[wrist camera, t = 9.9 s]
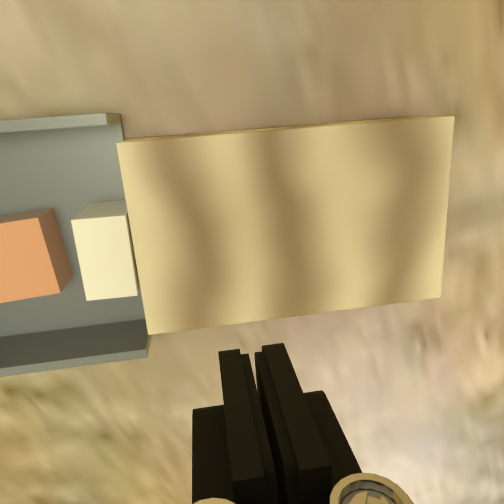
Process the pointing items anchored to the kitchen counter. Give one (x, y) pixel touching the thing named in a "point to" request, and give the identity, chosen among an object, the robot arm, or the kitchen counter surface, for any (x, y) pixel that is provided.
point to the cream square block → (106, 251)
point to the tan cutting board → (287, 219)
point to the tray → (65, 244)
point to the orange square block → (32, 256)
